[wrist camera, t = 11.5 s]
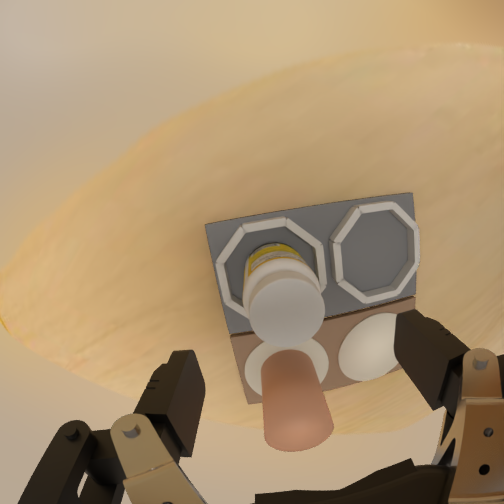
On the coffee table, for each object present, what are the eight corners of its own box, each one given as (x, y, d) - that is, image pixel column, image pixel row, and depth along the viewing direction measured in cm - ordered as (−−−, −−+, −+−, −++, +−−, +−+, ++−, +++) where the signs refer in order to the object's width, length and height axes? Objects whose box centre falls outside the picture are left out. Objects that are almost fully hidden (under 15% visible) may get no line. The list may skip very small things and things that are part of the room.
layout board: (409, 192, 21) (476, 198, 12) (406, 363, 25) (443, 411, 16) (205, 224, 21) (177, 246, 13) (248, 401, 25) (247, 467, 17)
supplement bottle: (286, 306, 22) (303, 364, 14) (234, 283, 22) (225, 336, 14) (313, 255, 21) (348, 293, 13) (260, 230, 21) (266, 255, 13)
